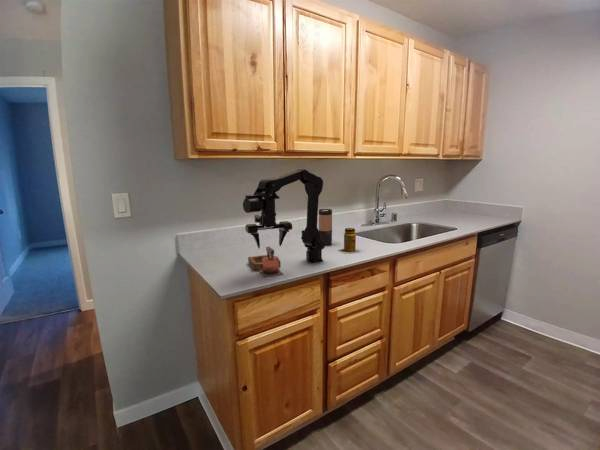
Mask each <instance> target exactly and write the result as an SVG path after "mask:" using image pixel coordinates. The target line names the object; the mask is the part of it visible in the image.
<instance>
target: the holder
mask: <svg viewBox="0 0 600 450" xmlns="http://www.w3.org/2000/svg"><path fill="white" fill-rule="evenodd" d="M269 255H270V256H271V254H270V253H269ZM266 256H267V254H264V255H263V254H262V255H253V256H248V257H247V259H248V260H247V261H248V262H247V263H248V265H249V266H250V267H251V269H252V270H253V272H259V270H263V267H262V258H263V257H266ZM273 256H275V254H273ZM281 265H282V264H281V259H279V269H280V268H282V267H281Z"/></svg>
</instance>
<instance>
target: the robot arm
mask: <svg viewBox="0 0 600 450" xmlns="http://www.w3.org/2000/svg"><path fill="white" fill-rule="evenodd" d="M298 181H300V183H301V184H303V185H304V191H305V193H306V195H307V204H306V205H307V206H306V226H305V229H304V230H301V237H300V239H301V241H302V243H303V244H304V245H303V246H304V247H305V248H306V253H305V256H306V257H305V260H306V261H307V262H309V263H311V264H312V263H321V262H324V260H323V257H322V254H323V253H322V251H323V250H325V247H326V246H325V244H324V243H323V242H322V241H321V240H320V233H319V227H318V219H319V197H320V194H321V193H322V192H323V188H324V180H323V178H322V177H321V176H317V175H315V174H314V173H312V172H310V171H308V170H307V169H304V168H298V169H296V170H294V171H291V172H289V173H286V174H283V175H280V176H278V177H271V178H262V179H261V180H259V181H258V182H259V183H258V186H257V188H256V189H255V191H254V192H253V194H252V195H251V194H250V195H249V194H247V195H245V198H244V199H243V203H242V209H243V211H244V212H245V213H247V214H251V213H256V212H257V213H258V212H260V214H254V223H247V224H246V225H244V226H245V228H244V229H245V232H246V233H247V234H250V235H251V236H253V238H254V240H255V243H256V246H257V248H258V249H260V247H261V244H260V235H259V231H266V230H274V229H275V230H276V229H278V233H279V235H278V236H279V237H278V246H279V247H281V246H282V244H283V242H284V239H285V237H286V235H287V234H288V233H289V232H290V230H291V231H292V230H293V224H292V222H290V221H287V220H286V221H284V220H283V221H282V220H281V221H279V223H277V222H276V221H277V218H276V216H277V213H276V200H278V199H280V196H279V195H278V194H277V193H278V192H279V191H280V190H281V189H282V188H283V187H285V186H287V185H290V184H293V183H295V182H298ZM257 223H258V224H259V225H257Z"/></svg>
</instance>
